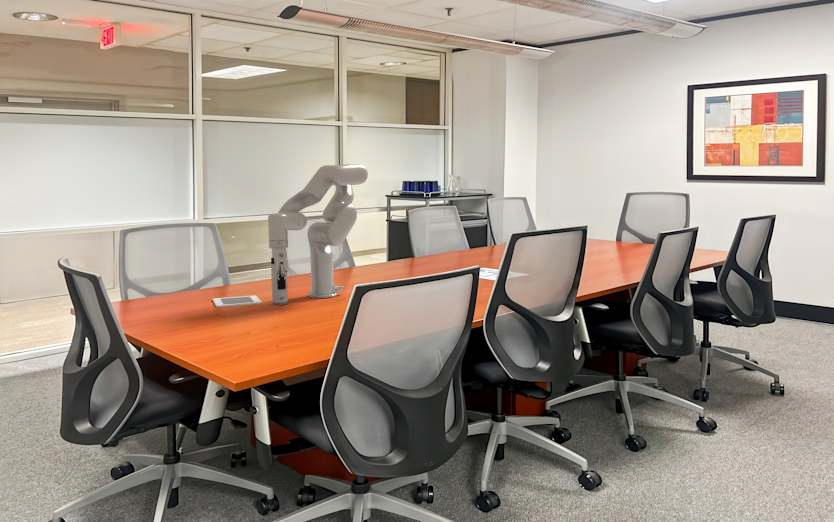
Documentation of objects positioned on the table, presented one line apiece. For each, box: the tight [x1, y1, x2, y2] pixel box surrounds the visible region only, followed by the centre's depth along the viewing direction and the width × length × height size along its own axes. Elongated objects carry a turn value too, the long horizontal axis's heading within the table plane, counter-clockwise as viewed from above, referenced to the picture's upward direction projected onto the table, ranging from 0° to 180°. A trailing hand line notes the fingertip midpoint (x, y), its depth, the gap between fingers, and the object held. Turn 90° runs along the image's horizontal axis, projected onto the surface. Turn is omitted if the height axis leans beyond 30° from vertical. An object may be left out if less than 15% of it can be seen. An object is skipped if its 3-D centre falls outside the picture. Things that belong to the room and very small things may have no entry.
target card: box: [212, 294, 263, 308], centre depth 301 cm, size 18×16×1 cm
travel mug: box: [270, 257, 289, 306], centre depth 295 cm, size 6×7×20 cm
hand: (280, 287), depth 295 cm, fingers closed on travel mug, 6 cm apart
